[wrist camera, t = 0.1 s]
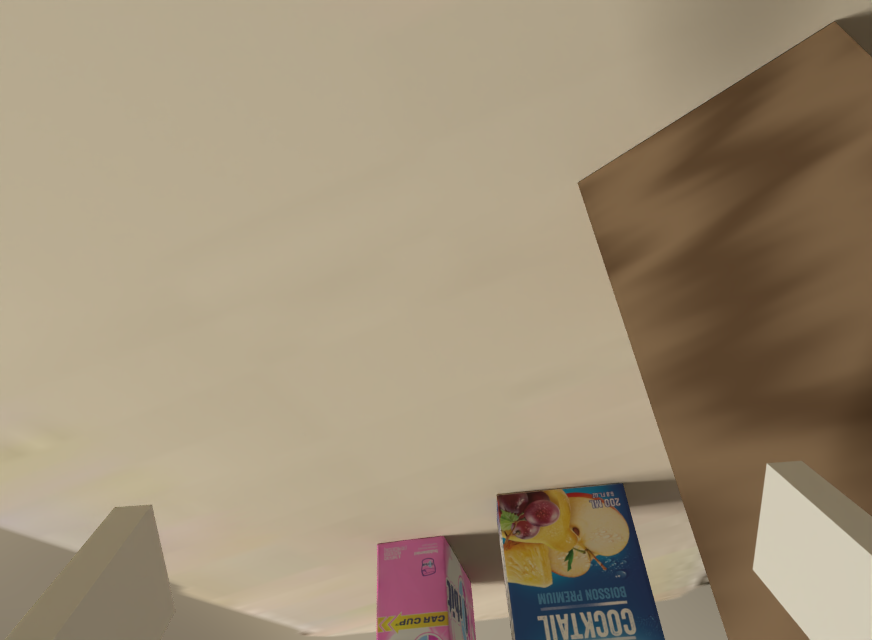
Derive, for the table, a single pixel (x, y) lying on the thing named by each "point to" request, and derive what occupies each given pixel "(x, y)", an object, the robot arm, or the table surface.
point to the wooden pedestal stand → (752, 297)
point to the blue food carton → (574, 566)
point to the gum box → (422, 592)
